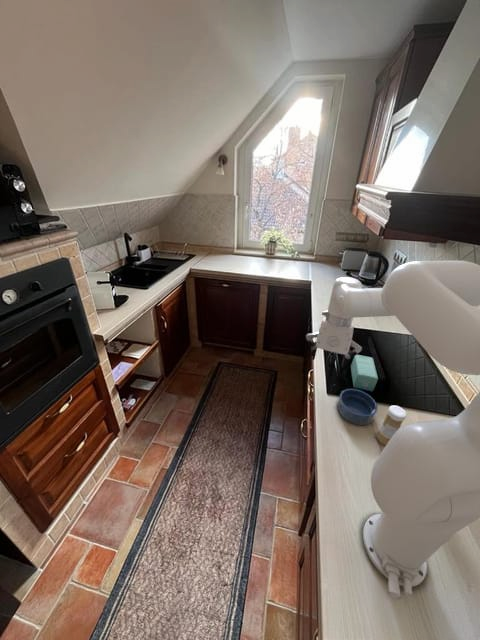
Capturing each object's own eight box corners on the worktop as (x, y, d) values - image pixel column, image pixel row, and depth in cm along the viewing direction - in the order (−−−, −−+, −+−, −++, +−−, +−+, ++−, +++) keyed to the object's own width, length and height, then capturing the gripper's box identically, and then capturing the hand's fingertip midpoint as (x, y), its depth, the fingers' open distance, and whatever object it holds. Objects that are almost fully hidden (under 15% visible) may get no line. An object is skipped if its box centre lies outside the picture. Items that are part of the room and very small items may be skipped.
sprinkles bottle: (378, 430, 84) (392, 402, 77) (393, 439, 81) (408, 410, 75) (374, 439, 81) (387, 410, 74) (389, 448, 78) (404, 420, 72)
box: (353, 388, 101) (358, 374, 97) (350, 367, 112) (354, 353, 108) (373, 392, 99) (379, 378, 95) (367, 370, 110) (372, 357, 107)
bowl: (373, 431, 84) (378, 421, 82) (335, 418, 88) (338, 408, 86) (372, 404, 94) (376, 395, 91) (338, 394, 98) (341, 384, 95)
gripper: (308, 317, 77) (300, 361, 86) (370, 330, 72) (354, 375, 80) (312, 307, 83) (304, 348, 92) (369, 318, 78) (355, 362, 86)
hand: (328, 361), depth 86 cm, fingers open, 9 cm apart
